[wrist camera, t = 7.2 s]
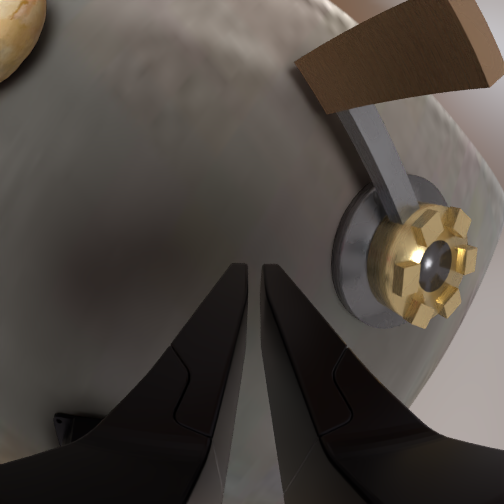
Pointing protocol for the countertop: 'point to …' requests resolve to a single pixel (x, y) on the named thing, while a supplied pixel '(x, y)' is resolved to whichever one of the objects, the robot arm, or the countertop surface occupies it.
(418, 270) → the crank handle
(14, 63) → the onion
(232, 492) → the countertop surface
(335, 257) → the flange
